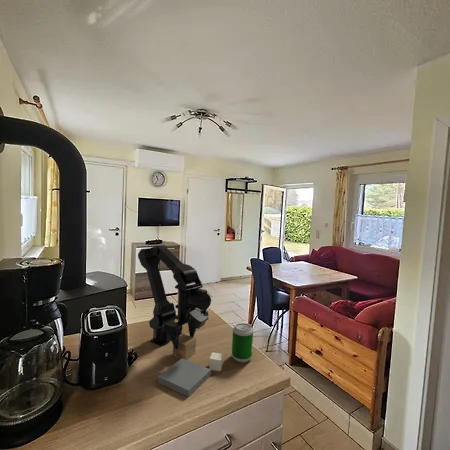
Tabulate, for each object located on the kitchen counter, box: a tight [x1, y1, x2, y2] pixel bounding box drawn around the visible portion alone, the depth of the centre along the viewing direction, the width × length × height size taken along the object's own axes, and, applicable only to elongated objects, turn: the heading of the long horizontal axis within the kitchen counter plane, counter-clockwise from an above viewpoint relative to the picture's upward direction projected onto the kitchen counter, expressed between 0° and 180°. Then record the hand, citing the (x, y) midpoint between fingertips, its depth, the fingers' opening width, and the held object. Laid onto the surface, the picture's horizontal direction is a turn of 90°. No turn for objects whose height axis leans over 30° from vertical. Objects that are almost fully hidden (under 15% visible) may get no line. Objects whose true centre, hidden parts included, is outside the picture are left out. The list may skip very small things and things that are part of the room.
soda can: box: [231, 322, 254, 363], centre depth 99 cm, size 8×8×12 cm
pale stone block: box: [208, 352, 224, 372], centre depth 93 cm, size 4×4×4 cm
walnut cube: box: [172, 333, 197, 361], centre depth 100 cm, size 6×6×6 cm
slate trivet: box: [157, 358, 212, 398], centre depth 86 cm, size 12×12×2 cm
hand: (184, 343), depth 100 cm, fingers open, 9 cm apart
